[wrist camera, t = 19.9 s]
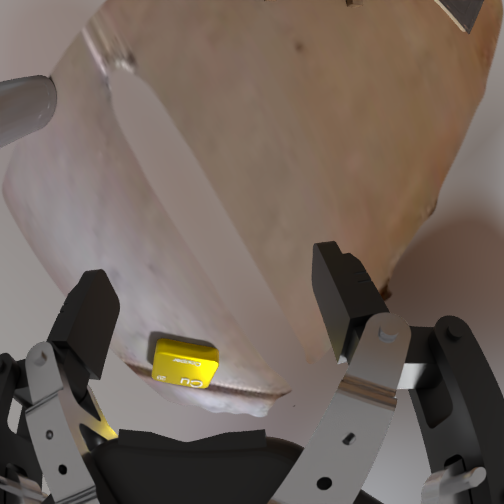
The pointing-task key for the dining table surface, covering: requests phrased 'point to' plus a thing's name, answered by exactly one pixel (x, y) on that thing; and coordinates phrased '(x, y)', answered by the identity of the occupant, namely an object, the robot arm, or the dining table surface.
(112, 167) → the dining table surface
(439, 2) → the hardcover book
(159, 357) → the yellow flat square block
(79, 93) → the dining table surface
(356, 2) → the keeper pocket
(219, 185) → the dining table surface
